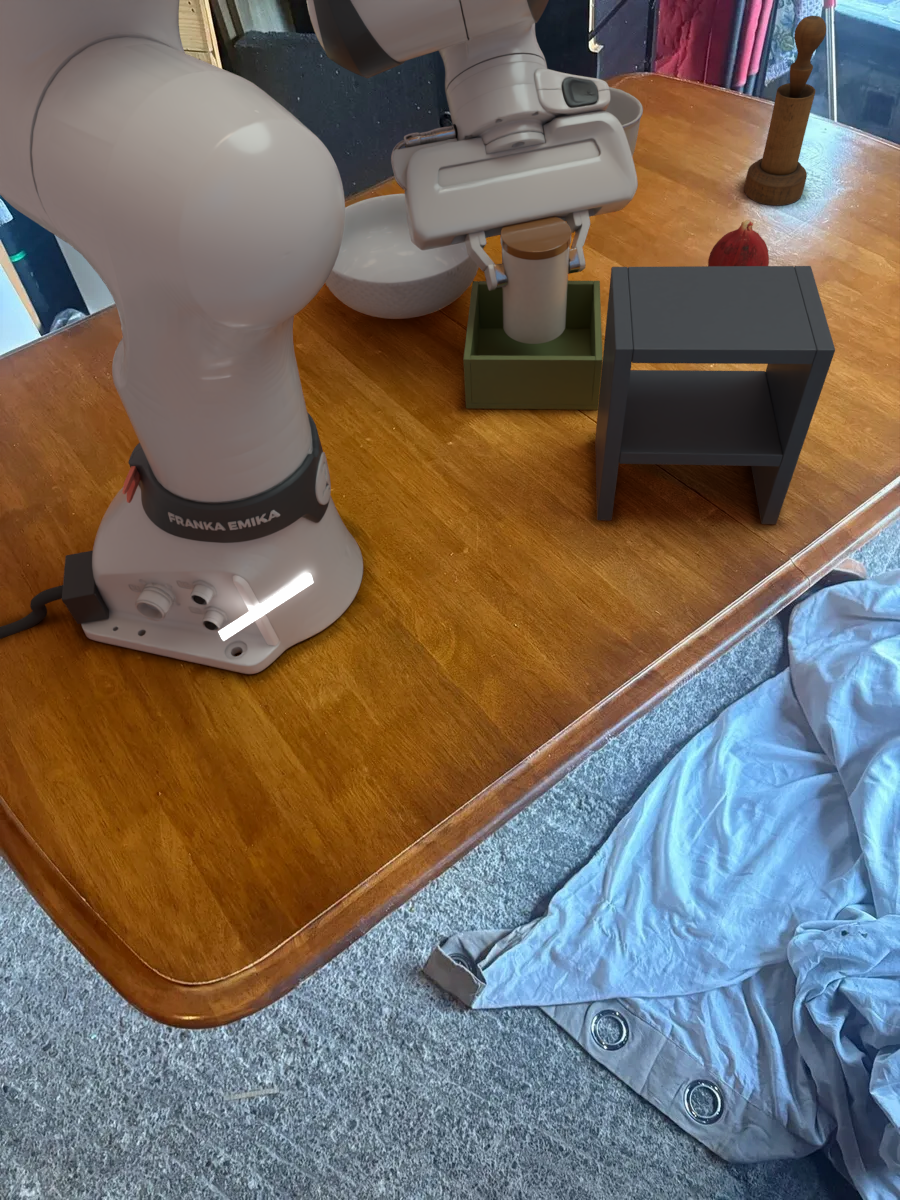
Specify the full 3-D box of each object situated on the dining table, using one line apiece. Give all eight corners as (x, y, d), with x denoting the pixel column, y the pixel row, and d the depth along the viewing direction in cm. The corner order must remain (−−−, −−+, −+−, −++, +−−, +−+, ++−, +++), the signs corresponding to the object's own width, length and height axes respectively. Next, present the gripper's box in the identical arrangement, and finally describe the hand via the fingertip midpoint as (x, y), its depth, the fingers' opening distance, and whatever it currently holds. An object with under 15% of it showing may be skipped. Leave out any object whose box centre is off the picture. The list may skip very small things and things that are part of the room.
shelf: (597, 520, 74) (615, 349, 60) (595, 438, 80) (611, 266, 66) (776, 524, 72) (835, 349, 59) (760, 441, 78) (811, 265, 65)
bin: (465, 408, 83) (463, 359, 79) (474, 330, 91) (472, 280, 86) (597, 410, 82) (602, 359, 78) (595, 330, 89) (599, 280, 85)
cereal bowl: (357, 362, 88) (346, 300, 83) (304, 279, 98) (292, 218, 92) (510, 314, 92) (510, 251, 86) (445, 238, 102) (441, 177, 96)
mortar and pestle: (734, 197, 104) (769, 23, 89) (756, 172, 107) (794, 0, 93) (789, 211, 101) (834, 34, 87) (811, 185, 104) (857, 11, 90)
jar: (500, 344, 81) (498, 251, 74) (503, 305, 85) (502, 213, 77) (566, 344, 80) (571, 251, 73) (566, 305, 84) (571, 212, 77)
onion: (760, 314, 90) (778, 240, 83) (701, 310, 90) (715, 237, 84) (759, 281, 93) (777, 208, 87) (703, 278, 94) (716, 205, 88)
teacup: (587, 142, 114) (591, 75, 107) (654, 170, 108) (663, 100, 102) (510, 184, 108) (510, 115, 102) (576, 215, 103) (580, 144, 97)
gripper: (388, 122, 72) (427, 294, 74) (626, 78, 74) (658, 246, 76) (383, 153, 78) (419, 311, 80) (602, 111, 81) (633, 266, 82)
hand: (537, 279), depth 78 cm, fingers closed on jar, 6 cm apart
